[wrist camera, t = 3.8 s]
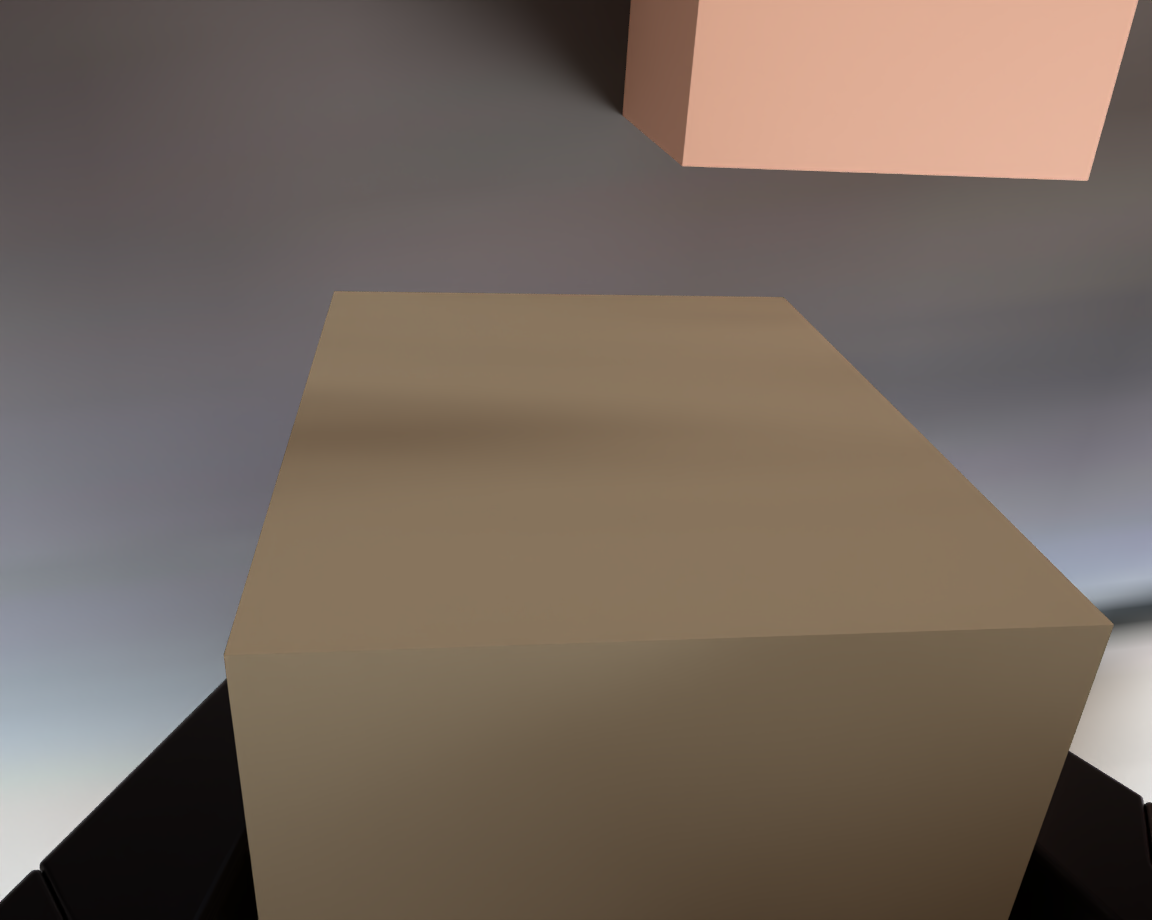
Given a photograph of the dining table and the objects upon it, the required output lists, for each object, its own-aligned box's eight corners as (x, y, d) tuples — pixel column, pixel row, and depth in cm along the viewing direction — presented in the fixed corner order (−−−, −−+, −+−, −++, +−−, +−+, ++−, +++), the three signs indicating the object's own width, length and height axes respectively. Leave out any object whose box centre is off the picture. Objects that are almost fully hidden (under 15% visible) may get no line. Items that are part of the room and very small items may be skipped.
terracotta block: (984, -116, 17) (1177, -141, 13) (934, 128, 19) (1088, 180, 14) (641, -143, 16) (717, -182, 12) (621, 114, 18) (682, 165, 14)
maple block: (709, 788, 12) (873, 1292, 7) (364, 806, 11) (318, 1362, 7) (783, 296, 9) (1113, 622, 5) (334, 290, 9) (224, 654, 4)
